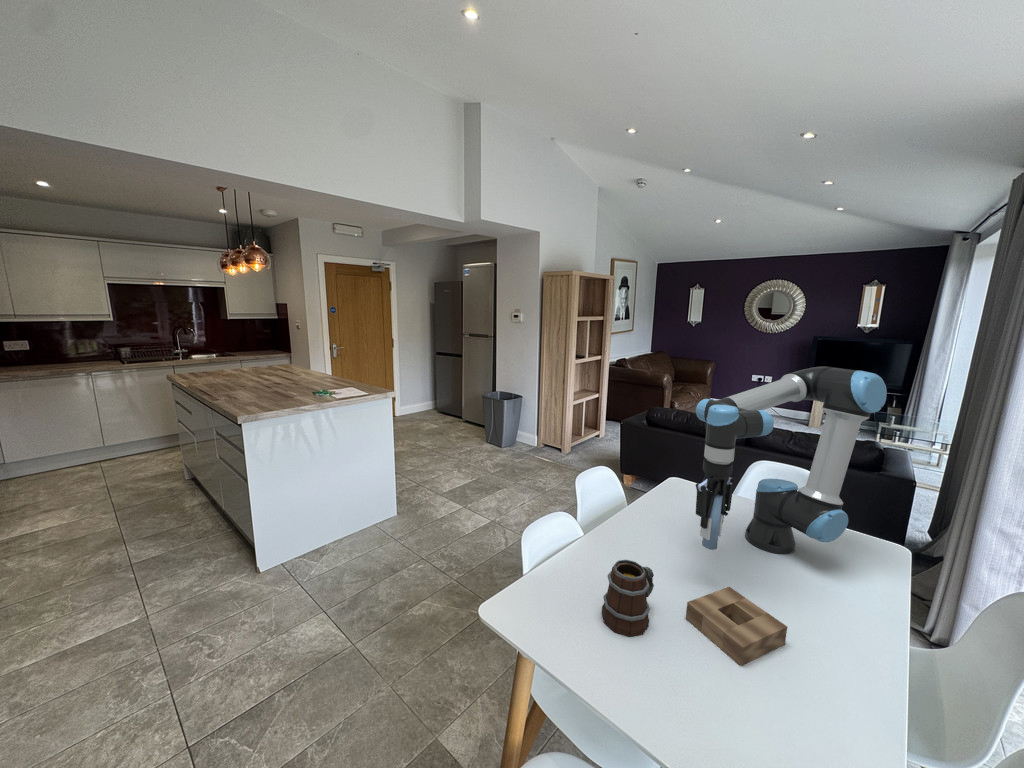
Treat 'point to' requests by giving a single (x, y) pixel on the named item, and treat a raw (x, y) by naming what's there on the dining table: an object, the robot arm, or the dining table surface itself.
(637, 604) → the mug
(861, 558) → the dining table surface
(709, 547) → the peg
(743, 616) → the socket block
